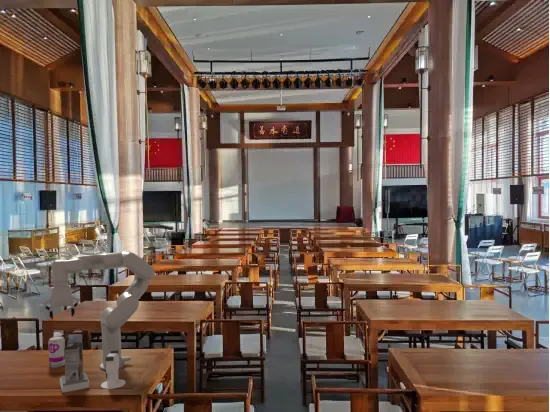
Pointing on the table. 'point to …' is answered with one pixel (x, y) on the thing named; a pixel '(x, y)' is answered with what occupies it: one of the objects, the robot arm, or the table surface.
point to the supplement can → (56, 351)
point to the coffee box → (73, 361)
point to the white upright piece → (112, 371)
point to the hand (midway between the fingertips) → (62, 317)
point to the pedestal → (74, 383)
